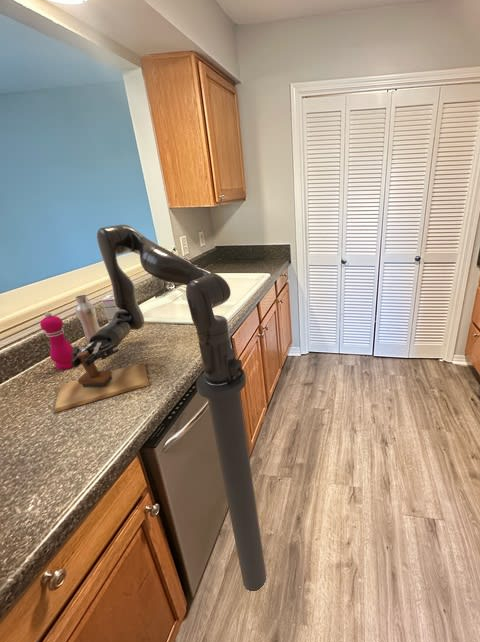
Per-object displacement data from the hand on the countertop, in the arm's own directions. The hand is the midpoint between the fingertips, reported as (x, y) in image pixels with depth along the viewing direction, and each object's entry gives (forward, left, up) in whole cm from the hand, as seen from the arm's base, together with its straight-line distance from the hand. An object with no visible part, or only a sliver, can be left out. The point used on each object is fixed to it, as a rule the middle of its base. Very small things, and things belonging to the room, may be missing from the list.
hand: (80, 364), depth 92 cm
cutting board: (-1, -4, -11) cm, 11 cm away
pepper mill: (+23, -14, -11) cm, 29 cm away
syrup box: (+27, -46, -11) cm, 55 cm away
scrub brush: (0, -4, -9) cm, 10 cm away
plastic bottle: (+25, -30, -11) cm, 41 cm away
